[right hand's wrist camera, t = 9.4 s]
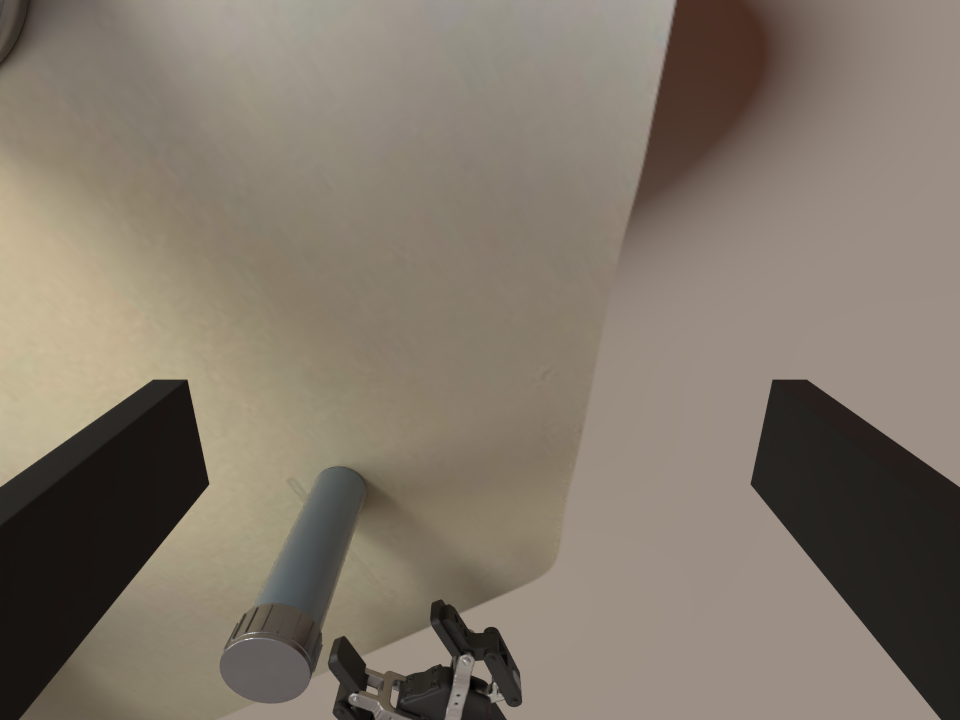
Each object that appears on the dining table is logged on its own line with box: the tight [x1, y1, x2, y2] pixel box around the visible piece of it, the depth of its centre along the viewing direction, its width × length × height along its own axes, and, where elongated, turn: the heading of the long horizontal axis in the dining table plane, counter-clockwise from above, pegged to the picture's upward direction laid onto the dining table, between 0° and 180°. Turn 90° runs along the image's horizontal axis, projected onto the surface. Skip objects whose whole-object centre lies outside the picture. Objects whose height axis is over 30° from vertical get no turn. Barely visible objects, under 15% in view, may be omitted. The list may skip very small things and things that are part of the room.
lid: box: [220, 603, 323, 703], centre depth 29 cm, size 5×5×2 cm
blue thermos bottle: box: [251, 467, 367, 631], centre depth 36 cm, size 4×4×16 cm
